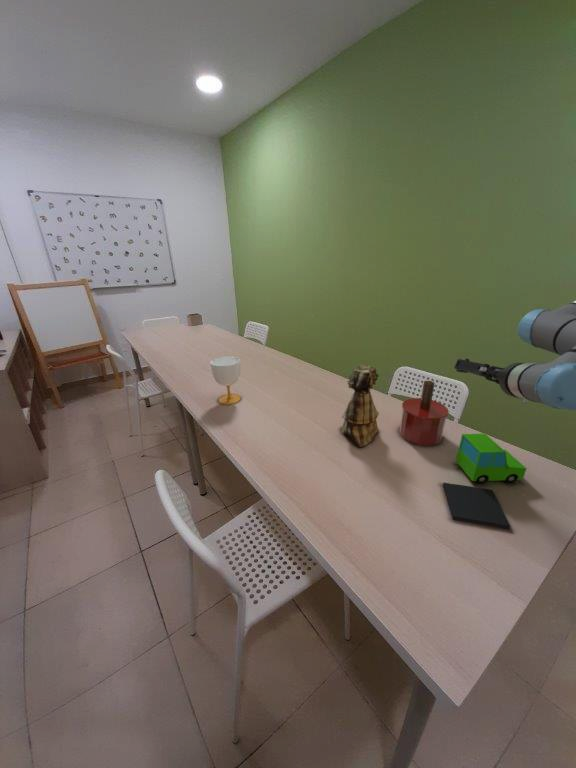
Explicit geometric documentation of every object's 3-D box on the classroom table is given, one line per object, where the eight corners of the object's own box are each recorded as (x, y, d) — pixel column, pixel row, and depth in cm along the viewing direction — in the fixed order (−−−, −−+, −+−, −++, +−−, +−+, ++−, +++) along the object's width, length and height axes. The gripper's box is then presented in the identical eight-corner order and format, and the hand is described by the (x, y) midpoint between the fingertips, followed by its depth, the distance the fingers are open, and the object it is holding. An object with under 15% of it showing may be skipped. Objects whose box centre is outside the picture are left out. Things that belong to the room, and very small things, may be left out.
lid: (443, 403, 99) (448, 376, 95) (452, 424, 87) (459, 393, 83) (400, 399, 102) (403, 373, 98) (403, 419, 90) (407, 389, 86)
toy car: (526, 486, 76) (538, 453, 72) (473, 487, 76) (483, 455, 72) (499, 460, 85) (509, 430, 81) (453, 461, 85) (460, 431, 81)
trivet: (491, 492, 74) (492, 489, 74) (509, 529, 64) (510, 525, 64) (442, 485, 77) (443, 482, 76) (452, 519, 67) (453, 516, 66)
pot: (437, 427, 102) (442, 402, 98) (445, 448, 91) (451, 421, 87) (398, 422, 105) (401, 398, 101) (401, 443, 94) (405, 416, 90)
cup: (231, 391, 133) (227, 354, 126) (249, 398, 126) (246, 360, 119) (209, 400, 125) (204, 362, 118) (227, 408, 118) (222, 368, 111)
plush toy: (323, 432, 99) (343, 365, 86) (342, 416, 109) (362, 354, 97) (362, 454, 92) (389, 385, 80) (378, 435, 103) (404, 371, 90)
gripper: (457, 376, 64) (433, 372, 85) (585, 421, 59) (527, 405, 80) (472, 343, 63) (444, 347, 84) (604, 386, 58) (540, 378, 79)
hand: (484, 375), depth 82 cm, fingers open, 13 cm apart
